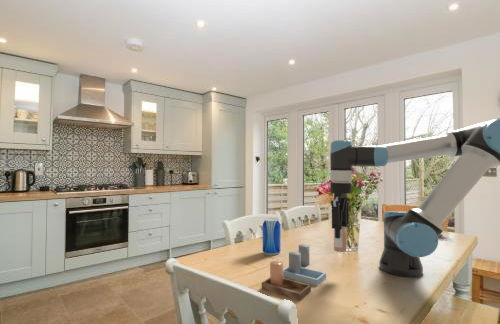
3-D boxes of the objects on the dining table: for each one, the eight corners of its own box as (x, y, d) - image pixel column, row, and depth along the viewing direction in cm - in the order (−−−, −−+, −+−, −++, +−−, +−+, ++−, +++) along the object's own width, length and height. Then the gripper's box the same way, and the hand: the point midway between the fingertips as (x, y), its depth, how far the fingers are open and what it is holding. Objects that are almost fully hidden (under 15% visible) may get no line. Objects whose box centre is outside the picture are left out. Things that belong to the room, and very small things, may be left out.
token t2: (347, 249, 103) (348, 228, 103) (344, 252, 100) (344, 230, 100) (336, 247, 106) (336, 226, 106) (332, 250, 102) (332, 228, 102)
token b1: (302, 274, 104) (302, 253, 104) (297, 278, 100) (297, 256, 100) (292, 272, 106) (292, 251, 107) (286, 275, 103) (286, 253, 103)
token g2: (311, 264, 116) (311, 245, 116) (306, 267, 112) (306, 247, 112) (301, 262, 118) (301, 243, 119) (296, 265, 115) (296, 246, 115)
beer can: (279, 257, 126) (279, 221, 126) (261, 255, 127) (261, 220, 128) (281, 251, 134) (281, 218, 134) (264, 250, 136) (264, 217, 136)
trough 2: (326, 279, 100) (326, 272, 100) (317, 287, 94) (317, 279, 94) (291, 271, 109) (291, 264, 109) (281, 277, 102) (281, 270, 102)
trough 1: (310, 293, 90) (310, 285, 90) (300, 302, 84) (300, 294, 84) (273, 282, 98) (273, 275, 98) (261, 290, 92) (261, 282, 92)
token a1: (285, 286, 93) (285, 262, 94) (279, 291, 90) (279, 266, 90) (274, 283, 96) (274, 260, 96) (267, 287, 92) (267, 263, 93)
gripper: (338, 180, 112) (338, 239, 112) (322, 182, 99) (321, 248, 98) (358, 181, 108) (357, 242, 107) (343, 183, 94) (342, 253, 94)
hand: (340, 245), depth 103 cm, fingers closed on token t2, 4 cm apart
